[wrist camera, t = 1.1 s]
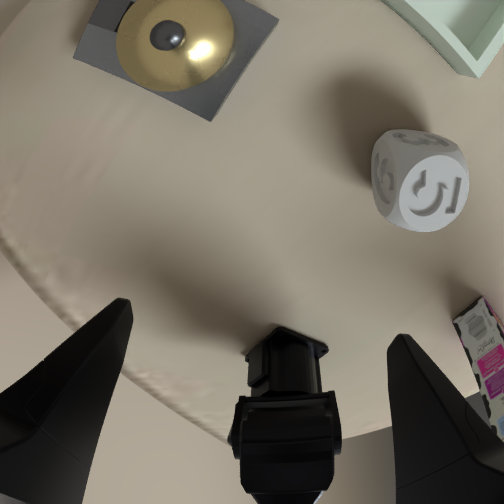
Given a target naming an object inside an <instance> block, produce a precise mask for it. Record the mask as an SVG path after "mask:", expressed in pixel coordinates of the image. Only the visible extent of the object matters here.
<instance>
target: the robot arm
mask: <svg viewBox="0 0 504 504" xmlns="http://www.w3.org/2000/svg"><path fill="white" fill-rule="evenodd" d="M132 325H133V312H132V307H131V302H130V300H128V299H124V298H117V299H115V300H114V301H113V302H111V303H110V304H109V305H108V306H106V307H105V308H104V309H103V310H102V311H100V312H99V313H98V314H97V315H95V316H94V317H93V318H92V319H91V320H89V321H88V322H87V323H86V324H84V325H83V326H82V327H81V328H80V329H78V330H77V331H76V332H75V333H74V334H73V335H71V336H70V337H69V338H68V339H67V340H65V341H64V342H63V343H62V344H61V345H59V346H58V347H57V348H56V349H55V350H54V351H52V352H51V353H50V354H49V355H48V356H47V357H46V358H44V361H41V362H40V363H39V364H38V365H37V366H35V367H34V368H33V369H32V370H30V371H29V372H28V373H27V374H26V375H25V376H23V377H22V378H20V379H19V380H18V381H17V382H15V383H14V384H12V385H11V386H10V387H8V388H7V389H6V390H4V391H3V392H1V393H0V504H82V501H83V497H84V493H85V489H86V484H87V480H88V476H89V472H90V467H91V464H92V461H93V457H94V453H95V450H96V446H97V443H98V439H99V436H100V433H101V429H102V426H103V423H104V419H105V416H106V413H107V410H108V406H109V404H110V401H111V397H112V394H113V391H114V388H115V385H116V382H117V380H118V377H119V374H120V371H121V368H122V365H123V362H124V358H125V353H126V349H127V345H128V341H129V337H130V333H131V329H132ZM328 351H329V349H328V346H326V345H323V344H321V343H318V342H316V341H314V340H311V339H309V338H306V337H304V336H301V335H299V334H297V333H294V332H292V331H290V330H287V329H285V328H282V327H279V328H276V329H275V330H274V331H273V332H272V333H271V334H270V335H269V336H268V337H266V338H265V339H264V340H263V341H261V342H260V343H259V344H258V345H257V346H256V347H255V348H253V349H252V350H251V351H250V352H249V353H248V354H247V355H246V356H245V361H246V362H248V363H249V367H248V383H247V384H248V386H249V387H251V397H246V396H239V401H238V403H237V404H236V405H235V414H234V420H233V424H232V427H231V429H230V432H229V435H228V439H227V441H228V443H229V444H230V445H231V446H232V450H233V454H234V457H235V459H240V478H241V485H242V486H243V488H244V490H245V492H246V493H248V494H251V495H252V496H253V498H254V499H255V500H256V502H257V503H258V504H316V502H317V501H318V499H319V498H320V496H321V495H322V493H323V492H324V491H326V490H327V489H328V488H329V486H330V484H331V482H332V480H333V476H334V455H340V453H341V447H342V433H341V423H340V418H339V412H338V407H337V402H336V397H335V392H334V390H333V391H328V392H322V385H321V375H320V366H319V359H320V358H321V357H322V356H324V355H325V354H326V353H328ZM387 369H388V392H389V401H390V410H391V419H392V429H393V441H394V455H395V475H396V504H504V442H503V441H502V440H501V439H500V438H499V437H498V436H497V434H496V433H495V432H494V431H493V430H492V429H491V428H490V427H489V426H488V425H487V424H486V423H485V422H484V420H483V419H481V417H480V416H479V415H478V414H477V413H476V411H475V410H474V409H473V408H472V407H471V405H470V404H469V403H468V402H467V401H466V399H465V398H464V397H463V396H462V394H461V393H460V392H459V391H458V390H457V388H456V387H455V386H454V385H453V384H452V383H451V381H450V380H449V379H448V378H447V377H446V375H445V374H444V373H443V372H442V371H441V370H440V369H439V367H438V366H437V365H436V364H435V363H434V362H433V360H432V359H431V358H430V357H429V356H428V355H427V354H426V353H425V351H424V350H423V349H422V348H421V347H420V346H419V345H418V344H417V342H416V341H415V340H414V339H413V338H412V337H411V336H410V335H409V334H398V335H397V336H396V337H395V339H394V340H393V341H392V343H391V344H390V346H389V347H388V349H387Z"/></svg>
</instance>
